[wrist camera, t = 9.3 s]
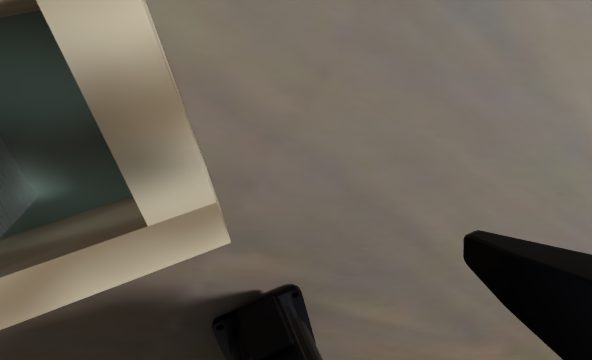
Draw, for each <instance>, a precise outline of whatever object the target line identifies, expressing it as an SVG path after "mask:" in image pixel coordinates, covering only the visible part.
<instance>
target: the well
mask: <svg viewBox="0 0 592 360" xmlns="http://www.w3.org/2000/svg"><path fill="white" fill-rule="evenodd" d="M0 138H1V139H2V141H3V142H4V144H5V146H6V147H7V149H8V150H9V152H10V153H11V155H12V157H13V158H14V160H15V161H16V163H17V164H18V166H19V168H20V169H21V171H22V172H23V174H24V175H25V177H26V179H27V180H28V182H29V183H30V185H31V186H32V188H33V189H34V191H35V193H36V194H37V196H38V198H37V199H36V200H35V201H34V202H33V203H32V204H31V205H30V206H29V207H28V208H27V209H26V210H25V212H24V213H23V214H22V215H21V216H20V217H19V218H18V219H17V220H16V221H15V222H14V223H13V224H12V226H11V227H10V228H9V229H8V230H7V231H6V232H5V233H4V234H3V235H2V236H1V237H0V330H2V329H4V328H7V327H10V326H12V325H15V324H18V323H20V322H23V321H26V320H28V319H31V318H33V317H36V316H39V315H41V314H44V313H47V312H49V311H52V310H55V309H57V308H60V307H62V306H65V305H68V304H70V303H73V302H76V301H78V300H81V299H84V298H86V297H89V296H92V295H94V294H97V293H99V292H102V291H105V290H107V289H110V288H113V287H115V286H118V285H121V284H123V283H126V282H128V281H131V280H134V279H136V278H139V277H142V276H144V275H147V274H150V273H152V272H155V271H157V270H160V269H163V268H165V267H168V266H171V265H173V264H176V263H179V262H181V261H184V260H186V259H189V258H192V257H194V256H197V255H200V254H202V253H205V252H208V251H210V250H213V249H215V248H218V247H221V246H223V245H226V244H229V243H231V241H230V237H229V234H228V230H227V227H226V224H225V220H224V217H223V213H222V210H221V207H220V203H219V201H218V198H217V195H216V192H215V190H214V187H213V184H212V181H211V179H210V176H209V173H208V171H207V168H206V165H205V162H204V160H203V157H202V154H201V151H200V149H199V146H198V143H197V140H196V138H195V135H194V132H193V129H192V127H191V124H190V121H189V119H188V116H187V113H186V110H185V108H184V105H183V102H182V99H181V97H180V94H179V91H178V88H177V86H176V83H175V80H174V78H173V75H172V72H171V69H170V67H169V64H168V61H167V58H166V56H165V53H164V50H163V47H162V45H161V42H160V39H159V36H158V34H157V31H156V28H155V26H154V23H153V20H152V17H151V15H150V12H149V9H148V6H147V4H146V1H145V0H0Z"/></svg>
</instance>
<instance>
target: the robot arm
mask: <svg viewBox="0 0 592 360" xmlns="http://www.w3.org/2000/svg"><path fill="white" fill-rule="evenodd" d="M463 257H464V260H465V262H466V264H467V265H468V266H469V268H470V269H471V270H472V271H473V272H474V273H475V274H476V275H477V276H478V277H479V279H480V280H481V281H482V282H483V283H484V284H485V285H486V286H487V287H488V288H489V289H490V291H491V292H492V293H493V294H494V295H495V296H496V297H497V298H498V299H499V300H500V301H501V302H502V304H503V305H504V306H505V307H506V308H507V309H508V310H510V311H511V312H512V313H513V314H514V315H515V316H516V317H517V318H518V319H519V320H520V321H521V322H522V323H524V324H525V325H526V326H527V327H528V328H529V329H530V330H531V331H532V332H533V333H534V334H535V335H537V336H538V337H539V338H540V339H541V340H542V341H543V342H544V343H545V344H546V345H547V346H549V347H550V348H551V349H552V350H553V351H554V352H555V353H556V354H557V355H558V356H559V357H561V358H562V359H563V360H592V255H591V254H586V253H582V252H577V251H572V250H568V249H563V248H558V247H554V246H549V245H545V244H540V243H535V242H531V241H526V240H521V239H517V238H512V237H508V236H503V235H498V234H494V233H489V232H484V231H479V230H477V231H474V232H471V233H469V234H467V235H465V237H464V251H463ZM294 292H296V293H295V294H293V293H294ZM218 325H221V326H218ZM212 328H213V332H214V334H215V336H216V339H217V341H218V343H219V345H220V347H221V349H222V351H223V353H224V356H225V358H226V360H323V359H322V357H321V355H320V353H319V351H318V349H317V347H316V343H315V339H314V336H313V332H312V328H311V325H310V321H309V318H308V314H307V310H306V307H305V303H304V299H303V296H302V292H301V290H300V288H299V287H298V286H291V287H289V288H287V289H284V290H282V291H280V292H277V293H275V294H273V295H270V296H268V297H266V298H263V299H261V300H259V301H256V302H254V303H252V304H249V305H247V306H245V307H242V308H240V309H237V310H235V311H233V312H230V313H228V314H226V315H223V316H221V317H219V318H217V319H215V320H214V321H213V322H212Z"/></svg>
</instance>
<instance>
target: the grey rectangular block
mask: <svg viewBox="0 0 592 360" xmlns="http://www.w3.org/2000/svg"><path fill="white" fill-rule="evenodd" d="M37 198H38V196H37V194H36V193H35V191H34V189H33V188H32V186H31V185H30V183H29V182H28V180H27V179H26V177H25V175H24V174H23V172H22V171H21V169H20V168H19V166H18V164H17V163H16V161H15V160H14V158H13V157H12V155H11V153H10V152H9V150H8V149H7V147H6V146H5V144H4V142H3V141H2V139H1V138H0V237H1V236H2V235H3V234H4V233H5V232H6V231H7V230H8V229H9V228H10V227H11V226H12V224H13V223H14V222H15V221H16V220H17V219H18V218H19V217H20V216H21V215H22V214H23V213H24V212H25V210H26V209H27V208H28V207H29V206H30V205H31V204H32V203H33V202H34V201H35V200H36V199H37Z"/></svg>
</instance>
